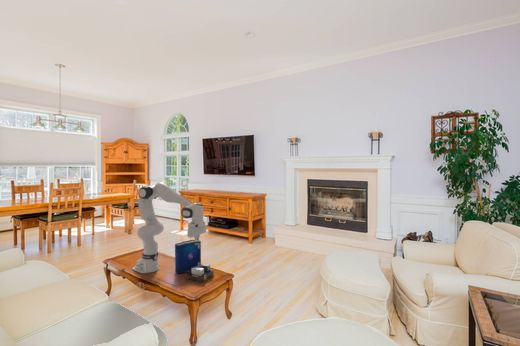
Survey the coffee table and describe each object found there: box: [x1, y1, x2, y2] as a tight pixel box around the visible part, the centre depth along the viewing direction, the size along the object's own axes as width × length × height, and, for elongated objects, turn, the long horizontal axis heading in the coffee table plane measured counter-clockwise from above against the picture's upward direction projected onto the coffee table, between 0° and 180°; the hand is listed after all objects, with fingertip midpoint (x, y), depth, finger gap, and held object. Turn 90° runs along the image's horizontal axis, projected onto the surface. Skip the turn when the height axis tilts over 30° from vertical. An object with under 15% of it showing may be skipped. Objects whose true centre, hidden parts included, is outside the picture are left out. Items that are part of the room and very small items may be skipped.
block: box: [190, 267, 204, 277], centre depth 206 cm, size 9×4×9 cm, turn 68°
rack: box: [187, 262, 215, 284], centre depth 210 cm, size 13×16×9 cm
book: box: [174, 239, 202, 275], centre depth 223 cm, size 22×7×25 cm, turn 126°
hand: (196, 240), depth 211 cm, fingers closed
